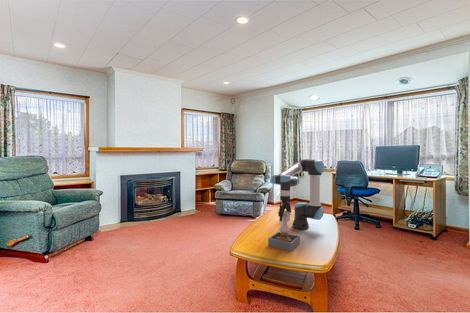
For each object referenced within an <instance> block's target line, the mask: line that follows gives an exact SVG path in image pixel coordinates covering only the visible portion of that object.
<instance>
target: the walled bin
mask: <svg viewBox="0 0 470 313" xmlns="http://www.w3.org/2000/svg"><path fill="white" fill-rule="evenodd" d="M280 233H281V231H277V232H275V233H274V234H272V235H271V236H269V237H268V238H267V242H268V243H267V244H268V245H267V247H271V248H274V249H280V250H283V251H287V252H292V251H294V250H295V249H296V248H297V247H298V246H299V245H300V243H301V235H297V234H292V233H288V237H289V238H290V239H291V240H292V242H291V243H290V242H286V241H282V240H277V239H276V238H277V237H280V236H281V235H280Z"/></svg>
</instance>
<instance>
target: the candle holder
mask: <svg viewBox="0 0 470 313" xmlns="http://www.w3.org/2000/svg"><path fill="white" fill-rule="evenodd" d="M277 214H279V211H278V212H277ZM288 215H290V216H291V215H292V211H291V212H289V211H286V210H284V214H283V225H280V227H279V232H281V233H280V235H281V236H280V237H277V238H276V239H277V240H282V241H286V242H290V243H291V242H292V240H291V239H290V238H289V237H288V234H289V231H290V227H289V226H288V222H289V221H288V220H287V217H288Z"/></svg>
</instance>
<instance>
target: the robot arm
mask: <svg viewBox="0 0 470 313" xmlns="http://www.w3.org/2000/svg"><path fill="white" fill-rule="evenodd" d="M305 172H306V173H307V174H308V176H309V202H305V201H304V202H303V201H302V202H297V203H295V204H294V213H293V214H294V219H293V221H292V223H291V224H292V228H294V229H297V230H308V229H309V228H310V225H309V221H308V219H312V220H317V221H319V220H321V219H323V216H324V213H325V209H324V207H323V206H322V203H321V202H320V200H321V199H320V197H321V196H320V195H321V193H320V192H321V190H320V189H321V187H320V186H321V182H320V181H321V176H322V174H323V173H324V172H325V164H324V162H323V161H322V160H321V159H308V158H307V159H306V158H305V159H301V160H299V161H297V162H295V163H294V164H293V165H292V166H290V167H288V168H287V169H285V170H284V171H282V172H281V173H279V174H274V175H272V176H271V178H270V180H271V183H272V184H273V185H277V186H279V185H280V187H279V189H280V190H279V192H280V193H279V194H280V195H279V199H280V201H281V202H280V204H279V210H278V212H279V214H278V213H277V214H278V217H279V226H281V225H283V214H284V211H289V212H291V213H292V208H291V187H296V186H298V185H299V184H300V180H299V178H298V177H297V176H295V175H297V174H300V173H305ZM287 220H288V222H290V221H291V215H288V217H287Z"/></svg>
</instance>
